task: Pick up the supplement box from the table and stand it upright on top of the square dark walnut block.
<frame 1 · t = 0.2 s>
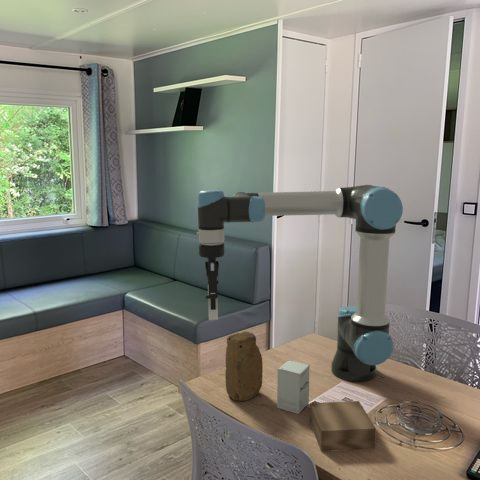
hand: (212, 312, 147), 28 cm above the table, tool pointing down, fingers open, 13 cm apart
supplement box: (293, 406, 146), on the table
walnut block: (340, 435, 131), on the table
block: (244, 395, 153), on the table
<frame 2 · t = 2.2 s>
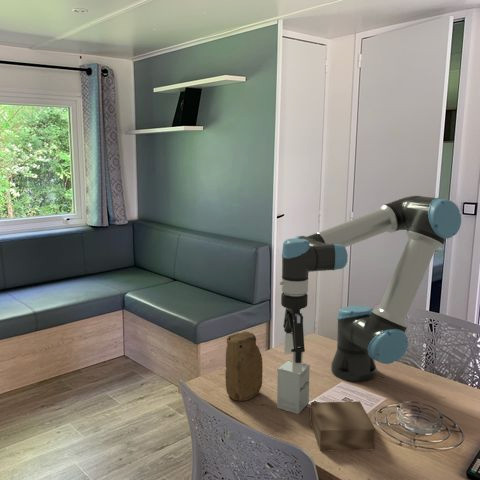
hand: (292, 362, 144), 14 cm above the table, tool pointing down, fingers open, 13 cm apart
nothing on the table moved.
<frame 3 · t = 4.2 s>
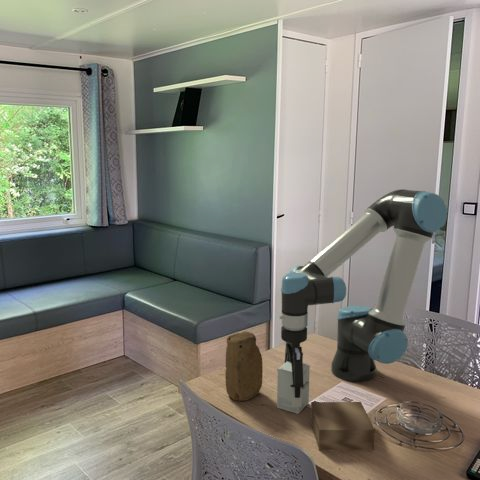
hand: (293, 397, 146), 3 cm above the table, tool pointing down, fingers closed on supplement box, 10 cm apart
supplement box: (293, 406, 146), on the table, touching gripper
everything else where it was.
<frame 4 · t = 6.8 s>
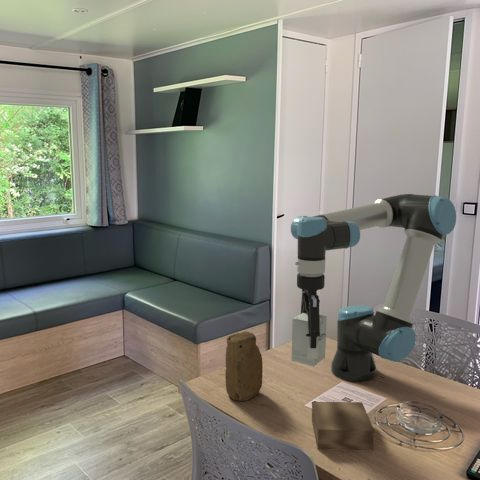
hand: (308, 350, 137), 20 cm above the table, tool pointing down, fingers closed on supplement box, 10 cm apart
supplement box: (308, 360, 138), point 17 cm above the table, touching gripper
everything else where it was.
when the fingers open (10 cm above the table, at t = 9.4 s): supplement box drops 2 cm, resting on walnut block.
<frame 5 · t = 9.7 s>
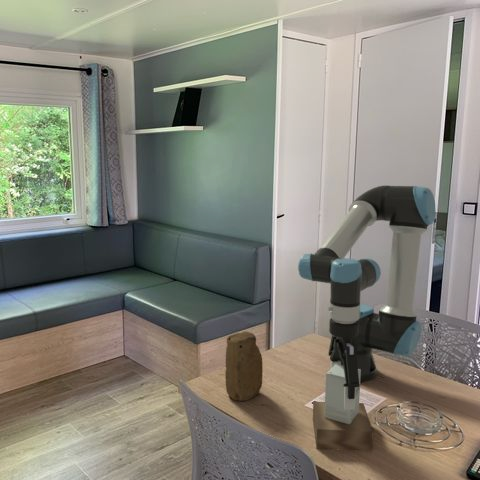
hand: (341, 395, 129), 11 cm above the table, tool pointing down, fingers open, 13 cm apart
supplement box: (341, 415, 130), point 5 cm above the table, touching walnut block
walnut block: (340, 435, 131), on the table, touching supplement box
everything else where it was.
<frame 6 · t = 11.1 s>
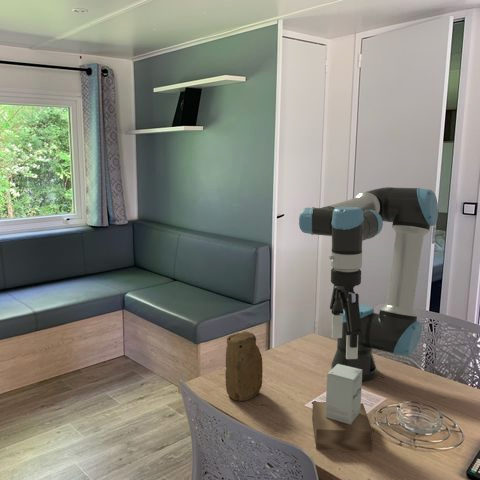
hand: (343, 347, 127), 25 cm above the table, tool pointing down, fingers open, 13 cm apart
nothing on the table moved.
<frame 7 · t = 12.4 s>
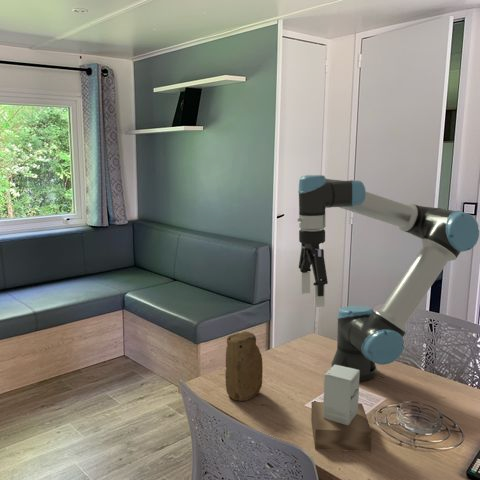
hand: (312, 299, 145), 32 cm above the table, tool pointing down, fingers open, 13 cm apart
nothing on the table moved.
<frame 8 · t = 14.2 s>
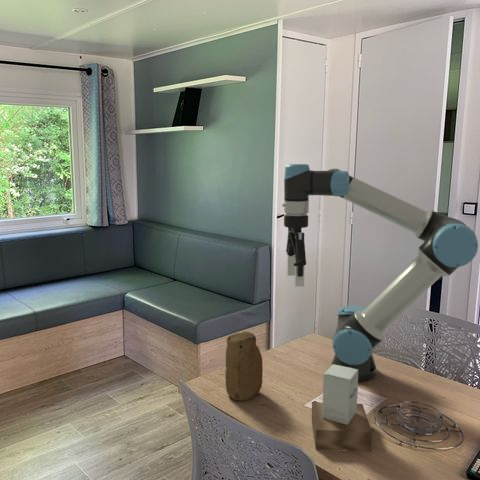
hand: (295, 280, 155), 35 cm above the table, tool pointing down, fingers open, 13 cm apart
nothing on the table moved.
at the end: supplement box inside the target area on the walnut block (0.3 cm from its centre), point 5.8 cm above the walnut block's base; supplement box tilted 1°; the gripper is holding nothing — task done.
